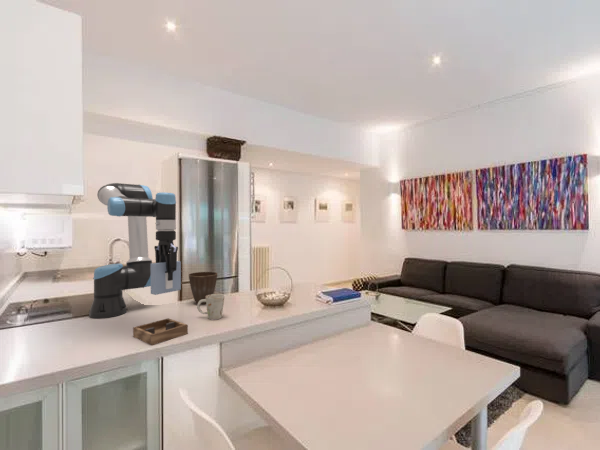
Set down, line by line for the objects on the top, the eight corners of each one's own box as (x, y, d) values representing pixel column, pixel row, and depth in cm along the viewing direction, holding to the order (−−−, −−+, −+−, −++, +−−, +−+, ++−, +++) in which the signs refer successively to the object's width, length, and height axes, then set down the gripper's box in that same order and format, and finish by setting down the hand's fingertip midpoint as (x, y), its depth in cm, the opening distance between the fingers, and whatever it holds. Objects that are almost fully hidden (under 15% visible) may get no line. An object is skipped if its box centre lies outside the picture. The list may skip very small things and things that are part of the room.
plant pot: (221, 300, 169) (221, 271, 169) (210, 307, 155) (210, 276, 155) (196, 299, 171) (196, 271, 171) (183, 306, 157) (183, 275, 157)
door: (150, 293, 119) (150, 263, 119) (175, 289, 128) (175, 260, 128) (155, 294, 117) (155, 264, 117) (180, 289, 126) (180, 261, 126)
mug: (221, 320, 133) (221, 298, 133) (193, 320, 133) (193, 298, 133) (226, 315, 141) (226, 293, 141) (200, 315, 141) (199, 293, 141)
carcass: (133, 336, 114) (133, 327, 114) (168, 326, 125) (168, 318, 125) (151, 345, 105) (151, 335, 105) (187, 333, 116) (187, 324, 116)
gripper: (146, 230, 124) (146, 287, 124) (168, 230, 115) (169, 291, 114) (163, 230, 130) (163, 284, 130) (186, 230, 121) (186, 288, 121)
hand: (166, 287), depth 122 cm, fingers closed on door, 3 cm apart
